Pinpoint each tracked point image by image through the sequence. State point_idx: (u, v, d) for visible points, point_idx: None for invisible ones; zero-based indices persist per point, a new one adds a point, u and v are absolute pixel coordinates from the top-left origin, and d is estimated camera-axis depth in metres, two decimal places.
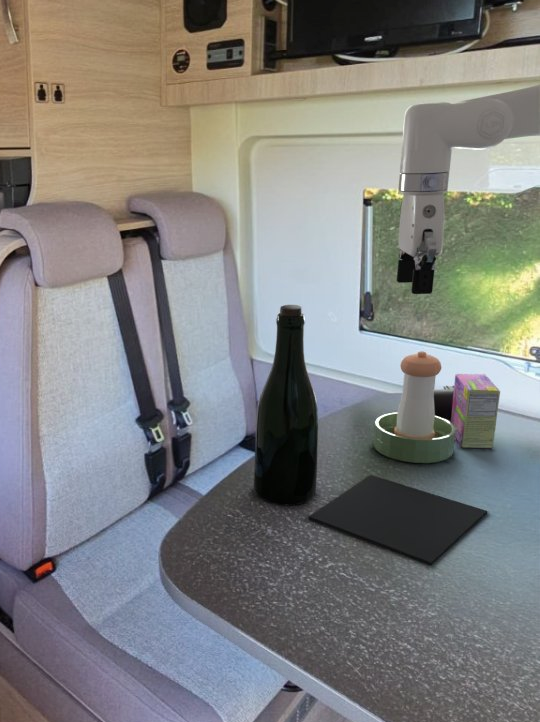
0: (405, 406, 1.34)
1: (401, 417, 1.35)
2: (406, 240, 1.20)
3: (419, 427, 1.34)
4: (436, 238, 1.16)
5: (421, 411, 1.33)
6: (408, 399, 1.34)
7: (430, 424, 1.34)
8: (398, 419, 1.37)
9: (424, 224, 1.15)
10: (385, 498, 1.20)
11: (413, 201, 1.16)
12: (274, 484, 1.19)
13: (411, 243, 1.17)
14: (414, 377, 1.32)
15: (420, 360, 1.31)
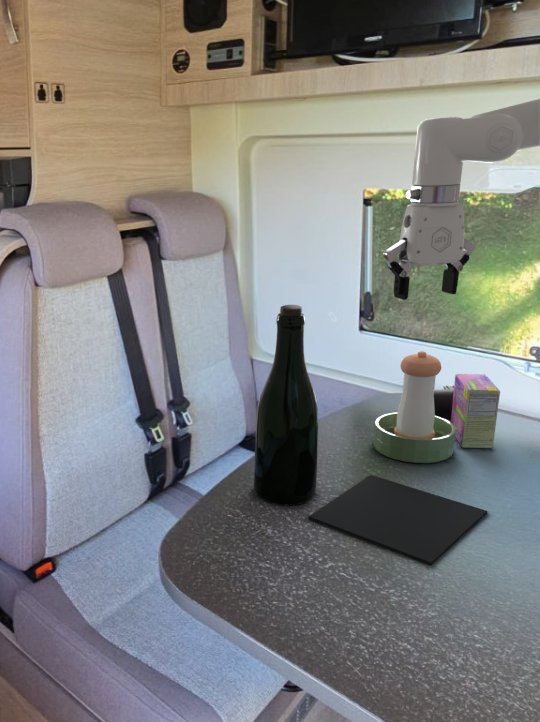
0: (405, 406, 1.34)
1: (401, 417, 1.35)
2: None
3: (419, 427, 1.34)
4: (409, 247, 1.22)
5: (421, 411, 1.33)
6: (408, 399, 1.34)
7: (430, 424, 1.34)
8: (398, 419, 1.37)
9: (403, 232, 1.23)
10: (385, 498, 1.20)
11: None
12: (274, 484, 1.19)
13: None
14: (414, 377, 1.32)
15: (420, 360, 1.31)
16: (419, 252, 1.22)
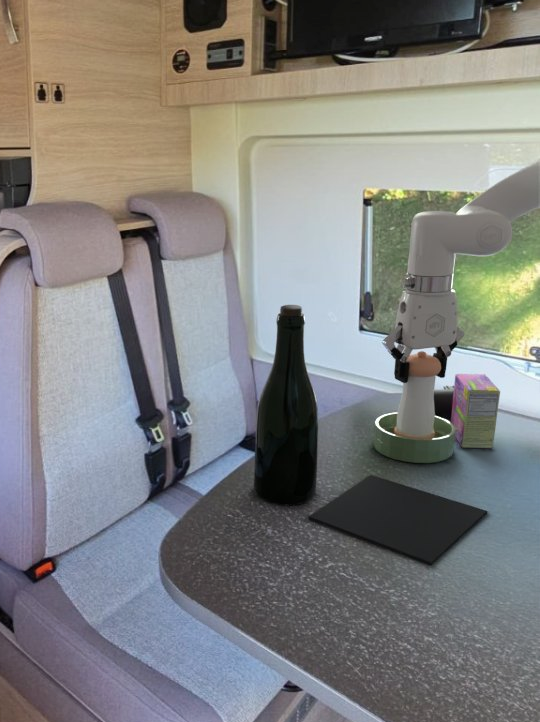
0: (405, 406, 1.34)
1: (401, 417, 1.35)
2: None
3: (419, 427, 1.34)
4: (404, 332, 1.28)
5: (421, 411, 1.33)
6: (408, 399, 1.34)
7: (430, 424, 1.34)
8: (398, 419, 1.37)
9: (399, 317, 1.29)
10: (385, 498, 1.20)
11: None
12: (274, 484, 1.19)
13: None
14: (414, 377, 1.32)
15: (420, 360, 1.31)
16: (414, 337, 1.27)
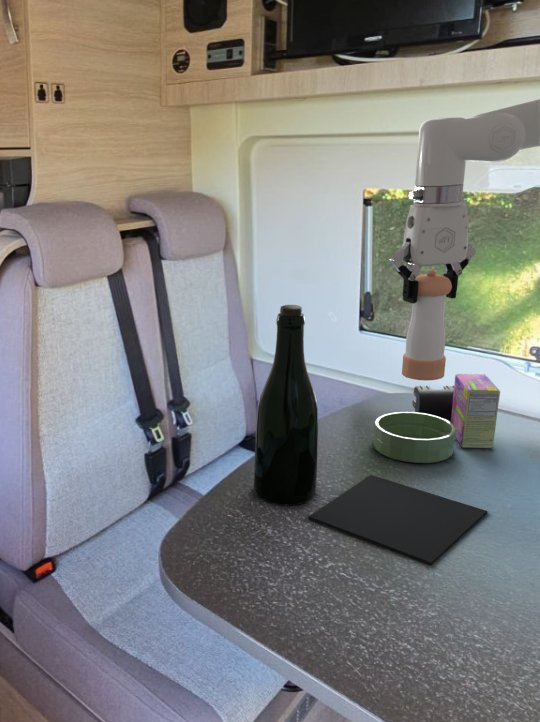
0: (414, 329, 1.29)
1: (410, 341, 1.30)
2: None
3: (429, 350, 1.28)
4: (412, 248, 1.22)
5: (431, 333, 1.27)
6: (417, 321, 1.28)
7: (441, 347, 1.28)
8: (407, 344, 1.31)
9: (407, 233, 1.23)
10: (385, 498, 1.20)
11: None
12: (274, 484, 1.19)
13: None
14: (423, 297, 1.26)
15: (429, 278, 1.25)
16: (423, 252, 1.22)
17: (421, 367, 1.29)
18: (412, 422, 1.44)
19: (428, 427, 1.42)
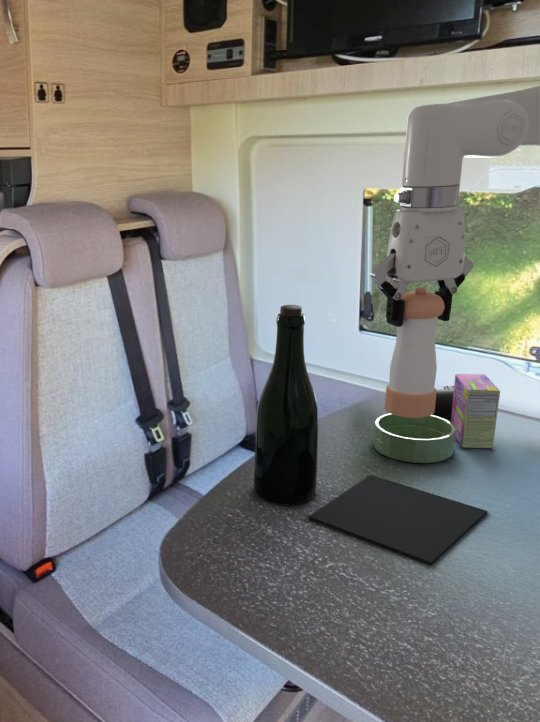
0: (399, 357, 1.08)
1: (394, 370, 1.09)
2: None
3: (417, 383, 1.07)
4: (398, 261, 1.02)
5: (419, 362, 1.06)
6: (403, 348, 1.07)
7: (431, 379, 1.07)
8: (391, 374, 1.10)
9: (391, 243, 1.03)
10: (385, 498, 1.20)
11: None
12: (274, 484, 1.19)
13: None
14: (410, 319, 1.05)
15: (418, 297, 1.04)
16: (410, 267, 1.01)
17: (407, 403, 1.08)
18: (412, 422, 1.44)
19: (428, 427, 1.42)
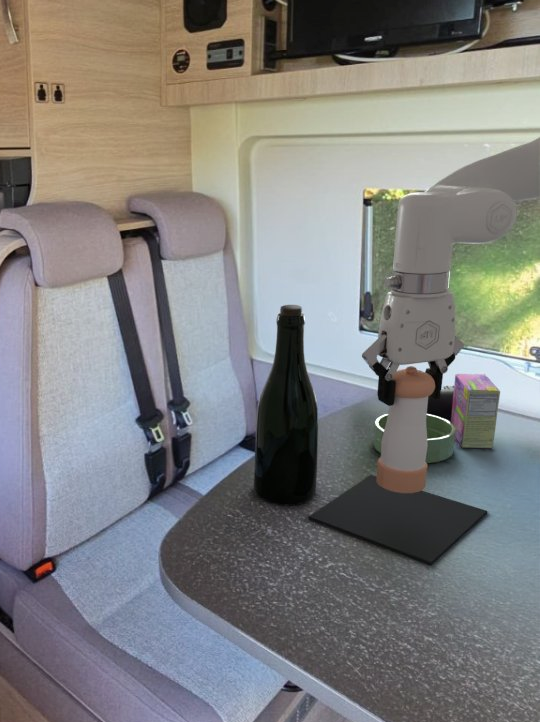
0: (390, 434, 1.09)
1: (386, 446, 1.10)
2: None
3: (408, 460, 1.08)
4: (389, 344, 1.03)
5: (410, 440, 1.08)
6: (394, 425, 1.08)
7: (422, 456, 1.09)
8: (383, 449, 1.11)
9: (383, 325, 1.04)
10: (385, 498, 1.20)
11: None
12: (274, 484, 1.19)
13: None
14: (402, 398, 1.06)
15: (409, 377, 1.05)
16: (401, 350, 1.02)
17: (398, 478, 1.10)
18: None
19: (428, 427, 1.42)
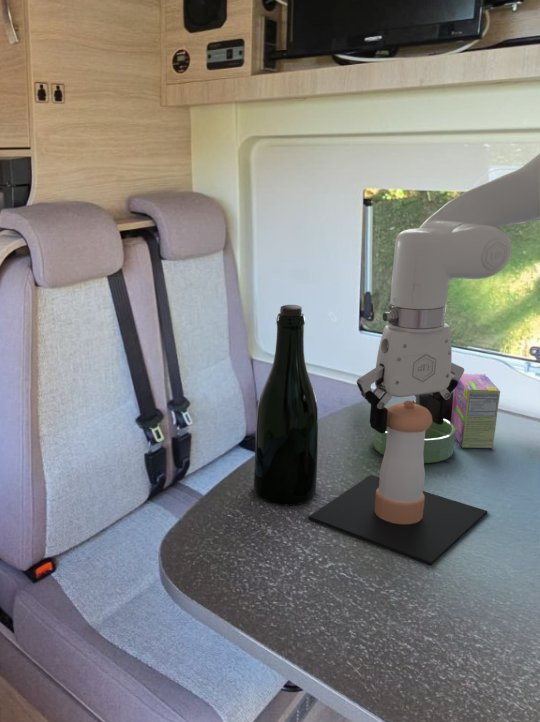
0: (388, 466, 1.11)
1: (384, 478, 1.12)
2: None
3: (406, 492, 1.10)
4: (386, 376, 1.05)
5: (408, 472, 1.09)
6: (392, 458, 1.10)
7: (419, 488, 1.11)
8: (381, 480, 1.13)
9: (380, 358, 1.06)
10: None
11: None
12: (274, 484, 1.19)
13: None
14: (399, 432, 1.08)
15: (406, 412, 1.07)
16: (398, 383, 1.04)
17: (396, 510, 1.12)
18: None
19: None
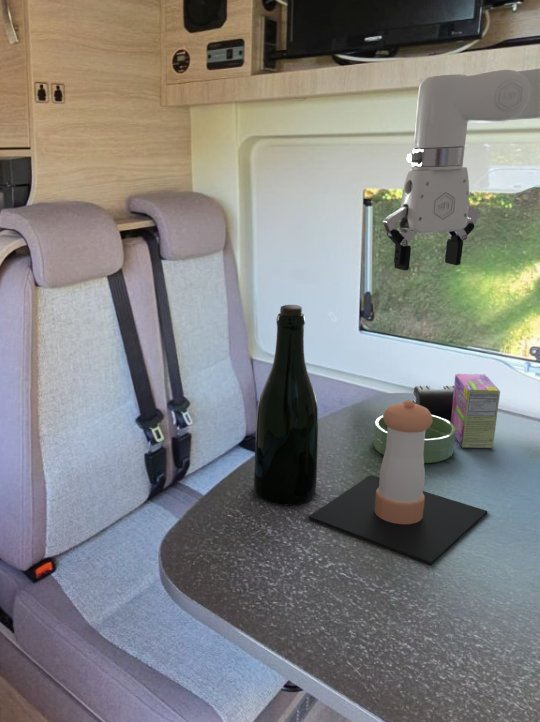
0: (388, 466, 1.11)
1: (384, 478, 1.12)
2: None
3: (406, 492, 1.10)
4: (410, 214, 1.16)
5: (408, 472, 1.09)
6: (392, 458, 1.10)
7: (419, 488, 1.11)
8: (381, 480, 1.13)
9: (404, 199, 1.17)
10: None
11: None
12: (274, 484, 1.19)
13: (402, 217, 1.19)
14: (399, 432, 1.08)
15: (406, 412, 1.07)
16: (421, 219, 1.15)
17: (396, 510, 1.12)
18: None
19: None
